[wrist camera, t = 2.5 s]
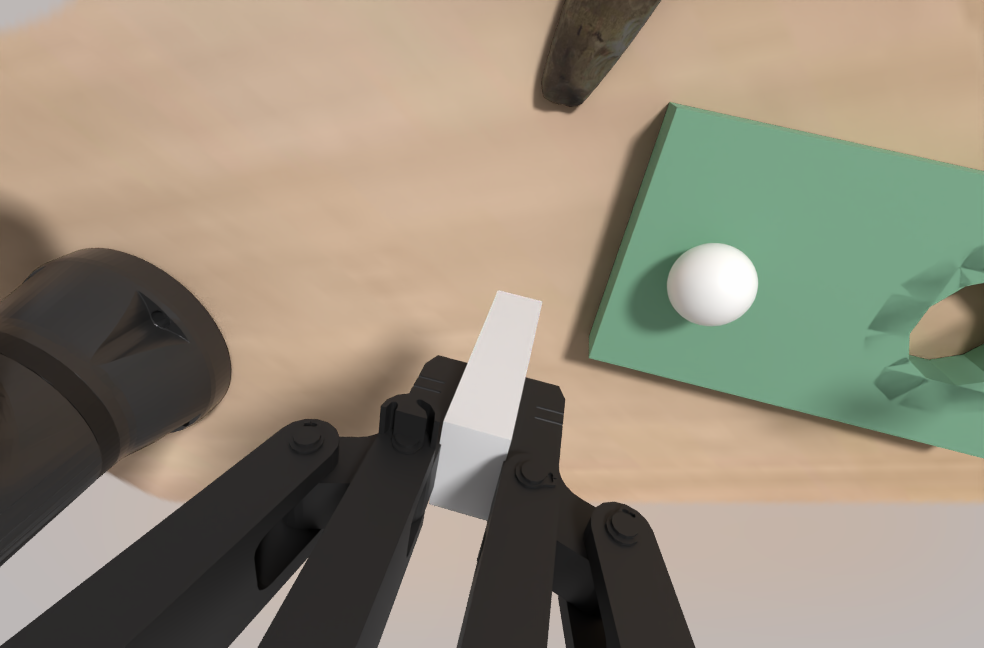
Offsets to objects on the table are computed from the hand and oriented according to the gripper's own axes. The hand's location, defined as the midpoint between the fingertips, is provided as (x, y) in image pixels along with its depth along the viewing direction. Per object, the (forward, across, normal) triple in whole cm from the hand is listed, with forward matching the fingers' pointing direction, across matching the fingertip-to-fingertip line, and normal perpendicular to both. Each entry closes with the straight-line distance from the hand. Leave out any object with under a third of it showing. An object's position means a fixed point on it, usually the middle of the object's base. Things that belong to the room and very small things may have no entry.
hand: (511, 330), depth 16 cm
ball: (+9, +8, 0) cm, 12 cm away
